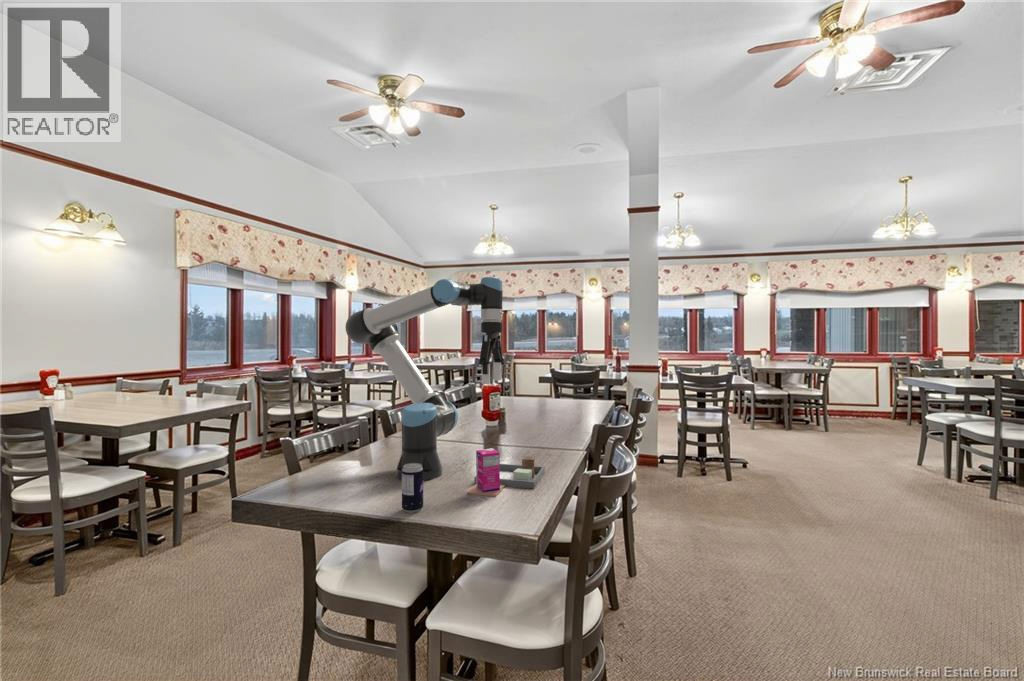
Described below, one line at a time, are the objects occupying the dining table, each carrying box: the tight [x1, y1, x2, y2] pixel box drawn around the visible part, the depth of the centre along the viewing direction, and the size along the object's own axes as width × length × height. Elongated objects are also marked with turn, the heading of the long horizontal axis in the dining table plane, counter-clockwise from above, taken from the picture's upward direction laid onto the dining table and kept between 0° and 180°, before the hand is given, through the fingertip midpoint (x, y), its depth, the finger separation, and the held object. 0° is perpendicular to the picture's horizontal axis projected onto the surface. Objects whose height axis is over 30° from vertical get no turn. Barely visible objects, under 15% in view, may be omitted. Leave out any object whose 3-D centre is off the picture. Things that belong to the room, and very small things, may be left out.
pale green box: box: [512, 468, 533, 481], centre depth 149 cm, size 5×4×4 cm
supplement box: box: [475, 447, 501, 492], centre depth 142 cm, size 6×6×12 cm
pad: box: [466, 484, 506, 497], centre depth 142 cm, size 9×9×1 cm
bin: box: [473, 463, 546, 489], centre depth 154 cm, size 19×17×2 cm
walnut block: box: [521, 455, 535, 479], centre depth 157 cm, size 4×4×6 cm
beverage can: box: [401, 463, 424, 514], centre depth 126 cm, size 6×6×12 cm
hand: (491, 382), depth 164 cm, fingers open, 13 cm apart
